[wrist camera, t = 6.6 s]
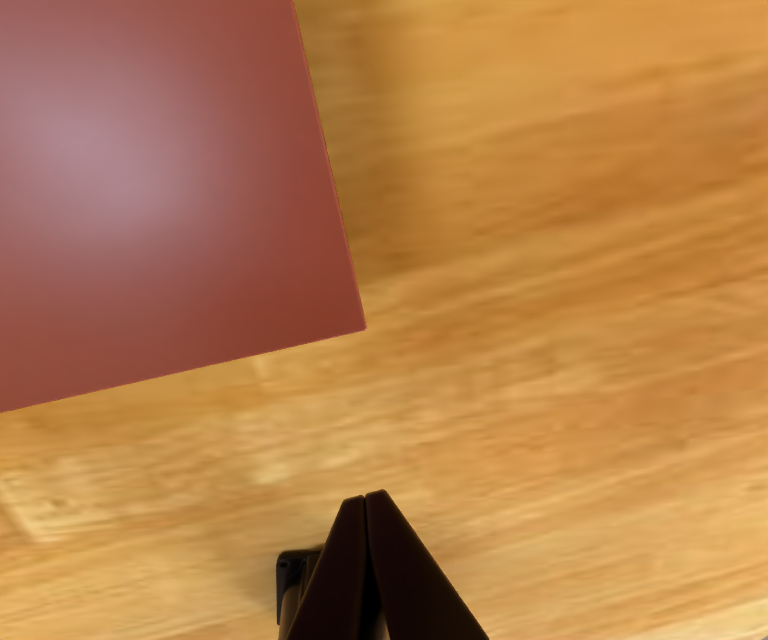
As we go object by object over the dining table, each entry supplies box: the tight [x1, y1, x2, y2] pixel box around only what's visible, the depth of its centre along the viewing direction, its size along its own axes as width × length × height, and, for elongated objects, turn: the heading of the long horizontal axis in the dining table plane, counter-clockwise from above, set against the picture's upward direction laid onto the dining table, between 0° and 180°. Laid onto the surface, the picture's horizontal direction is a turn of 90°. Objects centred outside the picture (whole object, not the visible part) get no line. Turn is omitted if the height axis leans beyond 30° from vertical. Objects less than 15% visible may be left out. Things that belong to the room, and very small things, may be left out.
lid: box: [0, 0, 367, 413], centre depth 9 cm, size 16×13×1 cm
